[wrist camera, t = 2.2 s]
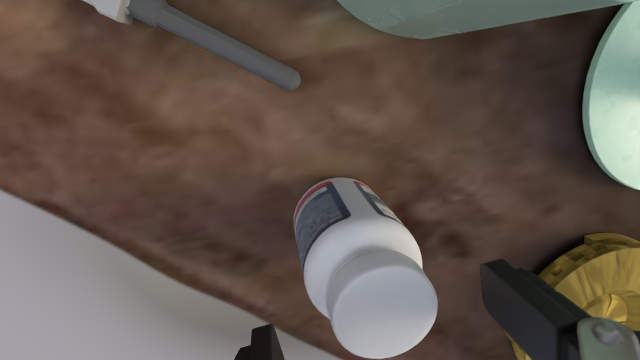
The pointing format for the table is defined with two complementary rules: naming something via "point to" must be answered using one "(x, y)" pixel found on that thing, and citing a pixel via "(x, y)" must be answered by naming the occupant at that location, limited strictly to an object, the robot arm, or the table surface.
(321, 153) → the table surface
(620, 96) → the lid
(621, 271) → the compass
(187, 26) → the walkie-talkie
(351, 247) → the pill bottle
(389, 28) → the cylindrical container
